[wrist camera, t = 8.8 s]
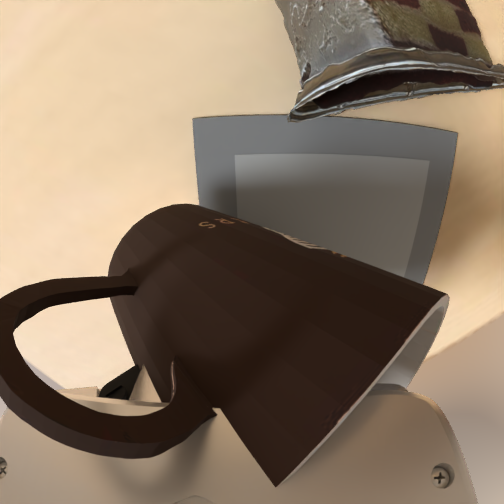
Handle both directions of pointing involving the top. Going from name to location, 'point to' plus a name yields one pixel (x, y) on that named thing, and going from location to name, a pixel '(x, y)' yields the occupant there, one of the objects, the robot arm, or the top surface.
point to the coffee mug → (230, 338)
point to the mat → (331, 183)
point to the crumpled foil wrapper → (383, 52)
